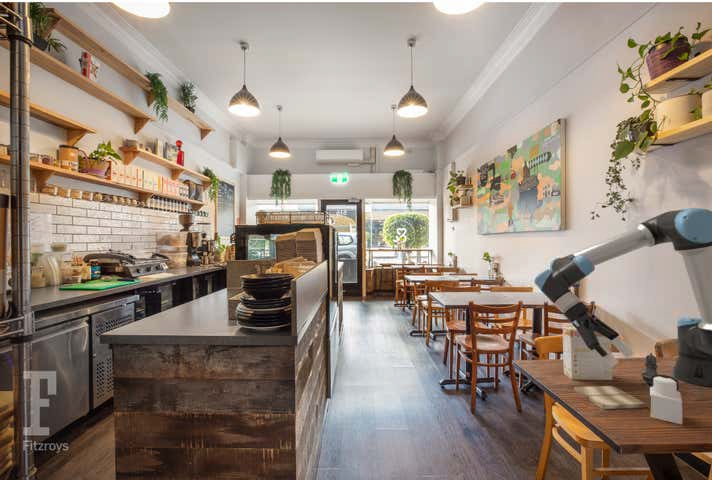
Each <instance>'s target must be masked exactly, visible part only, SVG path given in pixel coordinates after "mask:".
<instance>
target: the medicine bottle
mask: <svg viewBox="0 0 712 480" xmlns="http://www.w3.org/2000/svg"><path fill="white" fill-rule="evenodd" d="M649 408H650V409H649V412H650V413H649V414H650V418H651V419H655V420H660V421H664V422H669V423H672V424H677V425H683V401H682V394H681V392H679V380H677V378H676V377H674V376H673V377H672V376H670V375H668V374H667V375H666V374H658V375H653V376H652V387H650V388H649Z"/></svg>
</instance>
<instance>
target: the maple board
mask: <svg viewBox="0 0 712 480" xmlns="http://www.w3.org/2000/svg"><path fill="white" fill-rule="evenodd" d="M573 391H574V392H576V393H577V394H579V395H580V396H582V397H583V398H585V399H587V400H588V401H589V402H591V403H592V404H594V405H596V406H598V408H600V409H602V410H610V409H612V410H615V409H638V408H639V409H641V408H642V409H643V408H647V406H646V404H647V403H645V402H643V401H641V400H640V399H638V398H637V397H634V396H632V395H630V394H629V393H627V392H625V391H623V390H621V389H619V388H617V387H616V386H614V385H605V386H604V385H603V386H577V387H575V386H574V388H573Z"/></svg>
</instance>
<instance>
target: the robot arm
mask: <svg viewBox="0 0 712 480" xmlns="http://www.w3.org/2000/svg"><path fill="white" fill-rule="evenodd" d="M667 243H672V246H673V249H674V252H677V253H679V254H680V255H681V256H682V259H683V262H684V266H685V269H686V273H687V276H688V279H689V282H690V285H691V289H692V292H693V295H694V298H695V301H696V305H697V307H698V312H699V314H700V317H680V318H679V319H678V320H677V325H676V329H677V350H678V351H677V353H678V354H677V358H676V360H675V362H674V363H675V364H674V366H673V367H672V376H673V378H675V379H678V380H680V381H683V382H685V383H688V384H693V385H698V386H703V387H710V388H712V210H709V209H708V208H707V209H706V208H702V207H701V208H700V207H699V208H698V207H697V208H696V207H692V208H686V209H678V210H670V211H666V212H663V213H661V214H658V215H656V216H654V217H652V218H649V219H648V220H644V221H643V222H641V223H638V224H636V225H635V227H634V228H633V229H631V230H628V231H625V232H623V233H620V234H618V235H615V236H613V237H610V238H607V239H606V240H603V241H600V242H598V243H596V244H594V245H590V246H588V247H586V248H583V249H580V250H578V251H576V252H573V253H572V254H568V255H566V256H564V257H558V258H554V259H553V260H552V261H551V262H550V264H549V269H545V270H544V271H541V272H540V273H539V274H538V275H537V276H536V277H535V278H534V284H535V285H536V286H537V288H538V289H539V290H540V292H542V293H543V294H544V295H545V296H546V297H547V298H548V300H550V301H551V303H553V305H554V306H555V307H556V309H557V310H559V312H561V313H563V315H564V316H565V318H567V320H568V321H569V322H570V323H571V324H572V325H573V326H574V327H575V328H576V329H577V331H578V332H579V334H580V336H581V337H582V339H583V340H584V342H585V344H586V345H587V347H588V348H589V349H590V350H593V349H595V350H596V351H597V352H598V354H599V355H600V356H601V357H602V358H603V359H604V360H605V361H606V362H607V363H608V364H609V365H610V366H611V367H612V368H613V367H614V366H615V365H617V364H619V363H620V362H619V360H618V359H617V358H616V357H615V356H614V355H613V353H612V354H611V353H610V352H609V351H608V350H607V349H606V348H605V347H604V346H603V345H602V344H601V345H600V343H599V341H598V339H597V337H596V335H595V333H594V331H596V332H598V333H600V334H601V335H603V336H605V337H606V338H608V339H610V340H611V341H610V342H611V345H612V346H614V347H615V348H616V349H617V350H618V351H619V353H621V354H622V355H623V356H624V357H625V359H627V358H629V357H631V356H632V355H634V354H635V352H633V350H632V349H630V347H628V346H627V345H626V344H625V343H624V342H623V341H622V340H621V339H620V338H619V336H620V334H619V333H618V331H616V330H615V329H613V328H612V327H610V326H609V325H608V324H606V323H605V322H603V321H602V319H600V318H599V317H598V316H596V315H595V314H594V313H592V314H591V315H589V314H588V313H589V311H590V309H589V308H588V306H587V305H586V304H585V303H584V302H582V301H581V299H580V298H579V297H578V296H577V295H576V294H575V293H574V292H573V291H572V290H571V289H570V288H571V287H573V286H575V285H576V284H577V283H579V282H580V281H582V280H583V279H585V278H587V277H588V276H590V274H591V273H593V272H594V271H595V269H596V267H595V266H597V265H601V264H603V263H606V262H608V261H611V260H613V259H616V258H619V257H621V256H624V255H627V254H628V253H631V252H634V251H636V250H639V249H642V248H644V247H649V248H652V247H655V246H658V245H661V244H667ZM599 345H600V346H599Z"/></svg>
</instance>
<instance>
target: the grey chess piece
mask: <svg viewBox="0 0 712 480" xmlns="http://www.w3.org/2000/svg"><path fill="white" fill-rule="evenodd" d="M644 365H645V372H642V373H641V376H642V379H643V381H644V382H642V385H643V386H644V387H647V388H649V389H650V387H652V376H653V375H659V374H658V370H657V369H658V367H659V366H658V365H657V357H656V356H655V355H654V354H653V353H652V352H650V353H649V354H647V355H646V356H645V364H644Z"/></svg>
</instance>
